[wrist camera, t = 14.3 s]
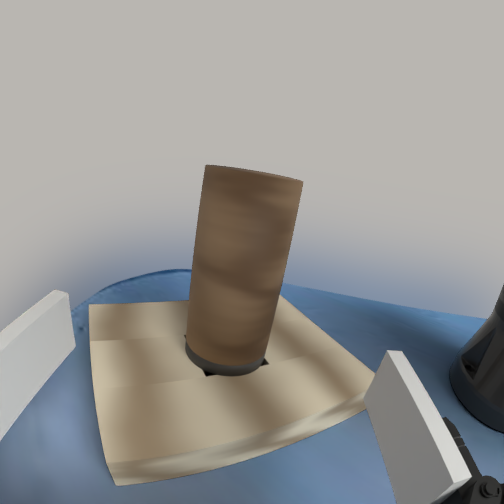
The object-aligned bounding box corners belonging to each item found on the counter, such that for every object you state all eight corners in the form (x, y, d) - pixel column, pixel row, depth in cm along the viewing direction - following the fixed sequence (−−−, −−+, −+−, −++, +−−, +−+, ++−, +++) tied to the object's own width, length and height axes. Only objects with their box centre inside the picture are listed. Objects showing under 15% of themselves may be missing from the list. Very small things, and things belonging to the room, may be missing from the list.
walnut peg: (238, 347, 26) (270, 172, 22) (271, 390, 21) (323, 186, 17) (174, 356, 23) (193, 162, 19) (198, 407, 18) (229, 171, 14)
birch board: (273, 316, 34) (278, 293, 33) (369, 406, 21) (384, 380, 20) (91, 331, 24) (88, 304, 23) (116, 486, 11) (106, 462, 10)
